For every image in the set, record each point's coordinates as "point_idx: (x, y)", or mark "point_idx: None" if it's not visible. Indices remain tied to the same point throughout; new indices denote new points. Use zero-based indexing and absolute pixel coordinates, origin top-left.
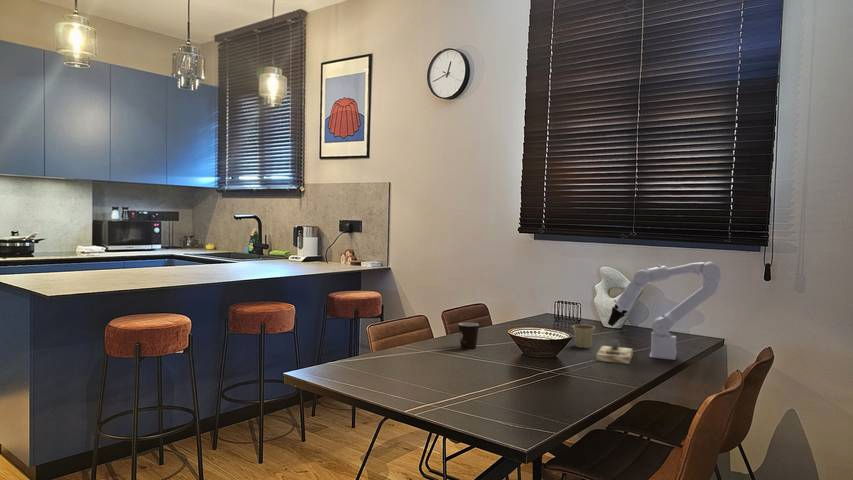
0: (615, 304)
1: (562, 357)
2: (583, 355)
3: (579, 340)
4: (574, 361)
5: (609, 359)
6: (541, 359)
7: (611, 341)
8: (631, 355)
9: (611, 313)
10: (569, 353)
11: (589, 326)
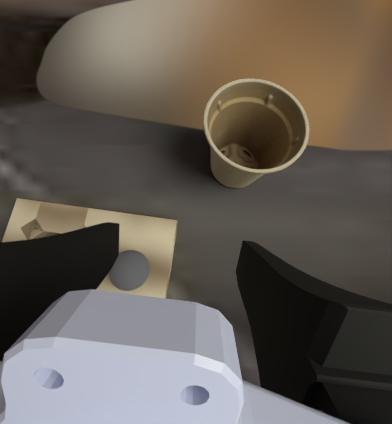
0: (375, 316)
1: (58, 110)
2: (100, 166)
3: (213, 140)
4: (9, 141)
5: None
6: (21, 61)
7: (127, 253)
8: None
9: (17, 241)
10: (119, 127)
11: (297, 150)
